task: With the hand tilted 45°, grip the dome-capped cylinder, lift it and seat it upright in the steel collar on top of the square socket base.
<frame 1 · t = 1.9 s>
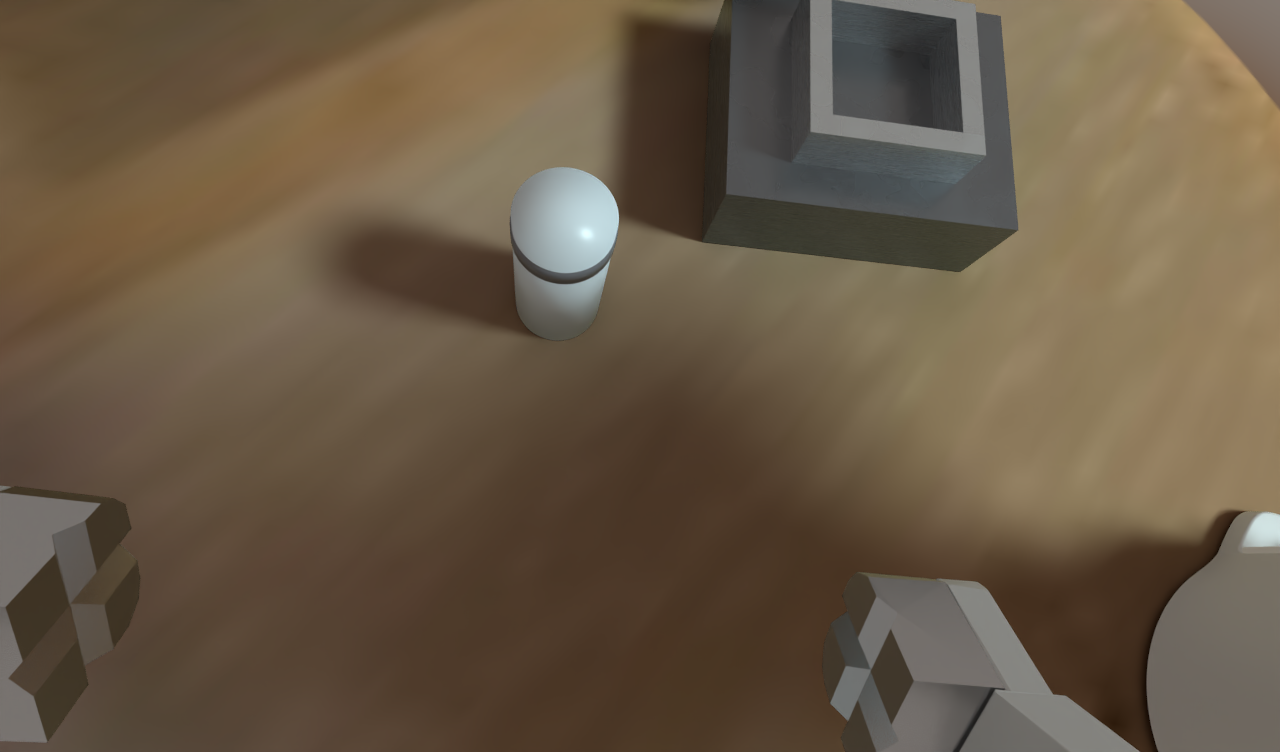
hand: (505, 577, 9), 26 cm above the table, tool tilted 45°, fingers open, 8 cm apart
square socket base: (832, 155, 41), on the table
dome-capped cylinder: (557, 301, 37), on the table
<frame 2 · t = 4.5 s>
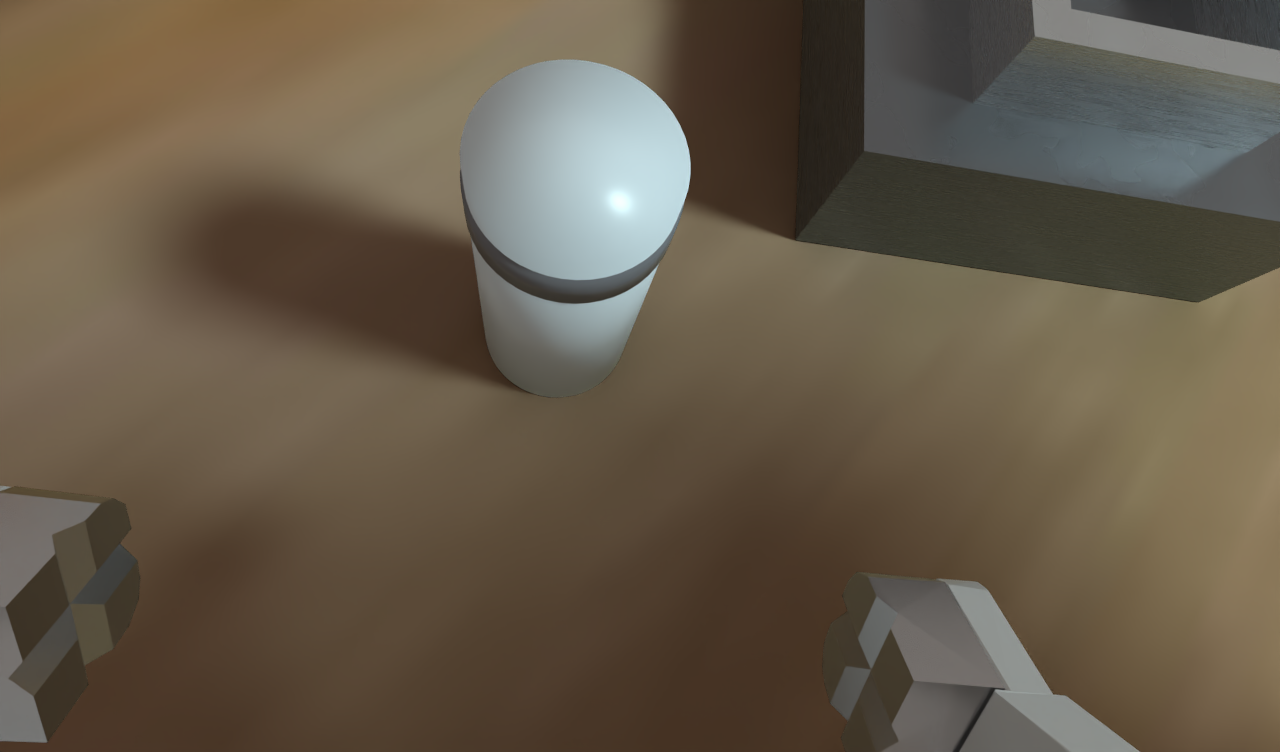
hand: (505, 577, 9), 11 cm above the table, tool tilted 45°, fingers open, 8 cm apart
square socket base: (995, 113, 26), on the table
dome-capped cylinder: (556, 329, 22), on the table
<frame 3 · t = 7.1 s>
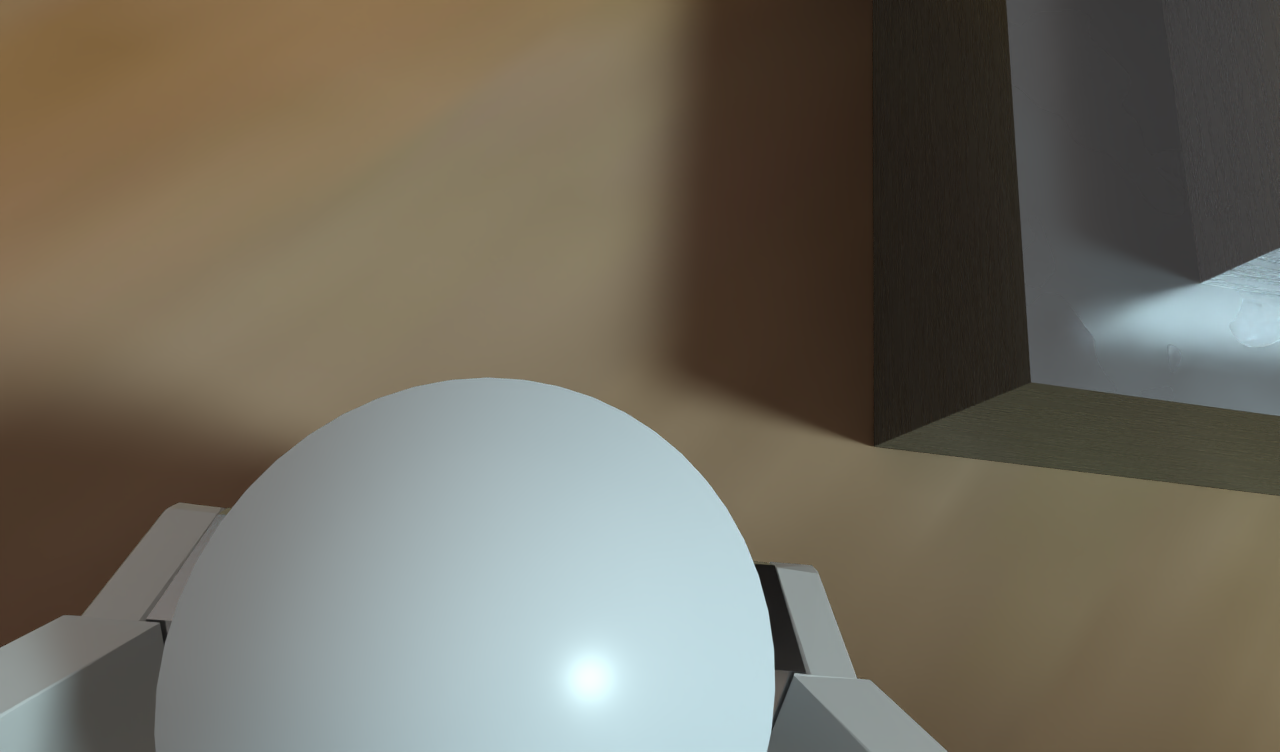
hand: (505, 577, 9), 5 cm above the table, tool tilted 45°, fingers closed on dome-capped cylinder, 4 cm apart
square socket base: (1149, 234, 18), on the table
dome-capped cylinder: (504, 620, 14), on the table, touching gripper
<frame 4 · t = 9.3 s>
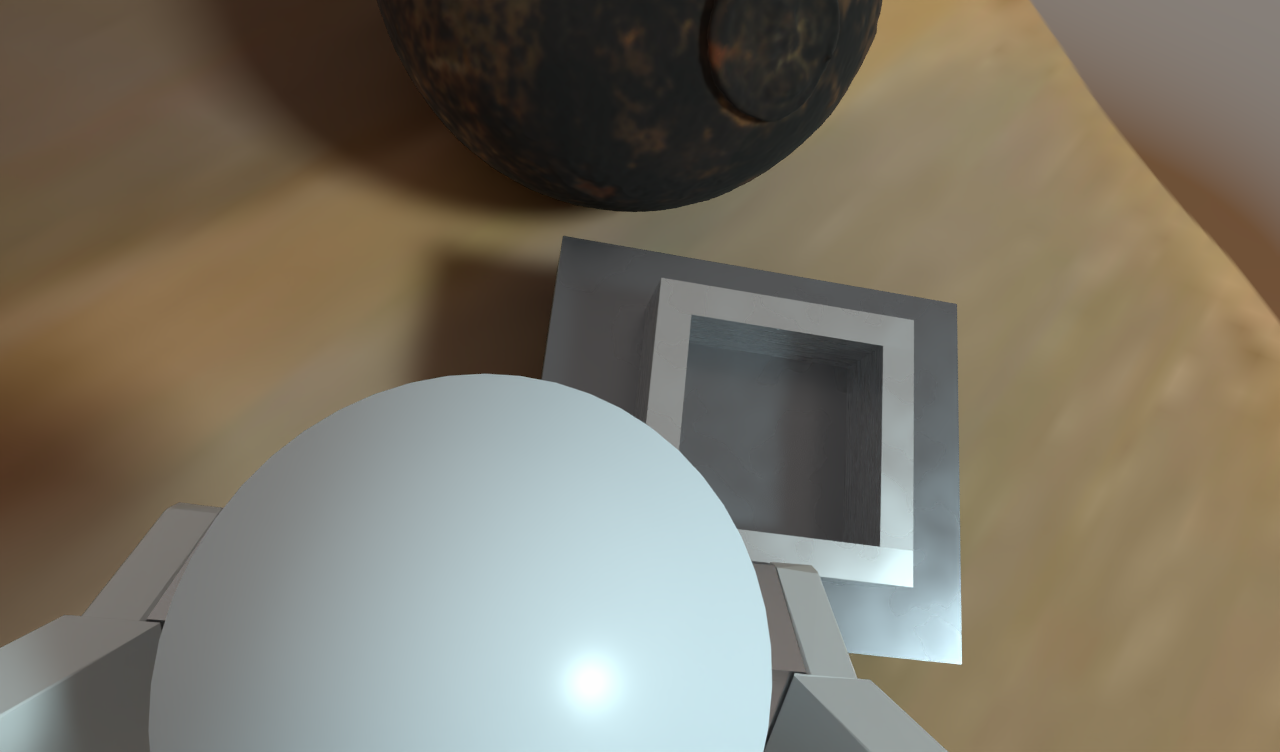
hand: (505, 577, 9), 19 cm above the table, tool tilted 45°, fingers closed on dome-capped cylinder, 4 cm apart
square socket base: (714, 466, 29), on the table
dome-capped cylinder: (503, 618, 14), point 13 cm above the table, touching gripper
glass bottle: (608, 77, 33), on the table
when the fingers open (12 cm above the table, at t = 12.0 s): dome-capped cylinder drops 1 cm, resting on square socket base.
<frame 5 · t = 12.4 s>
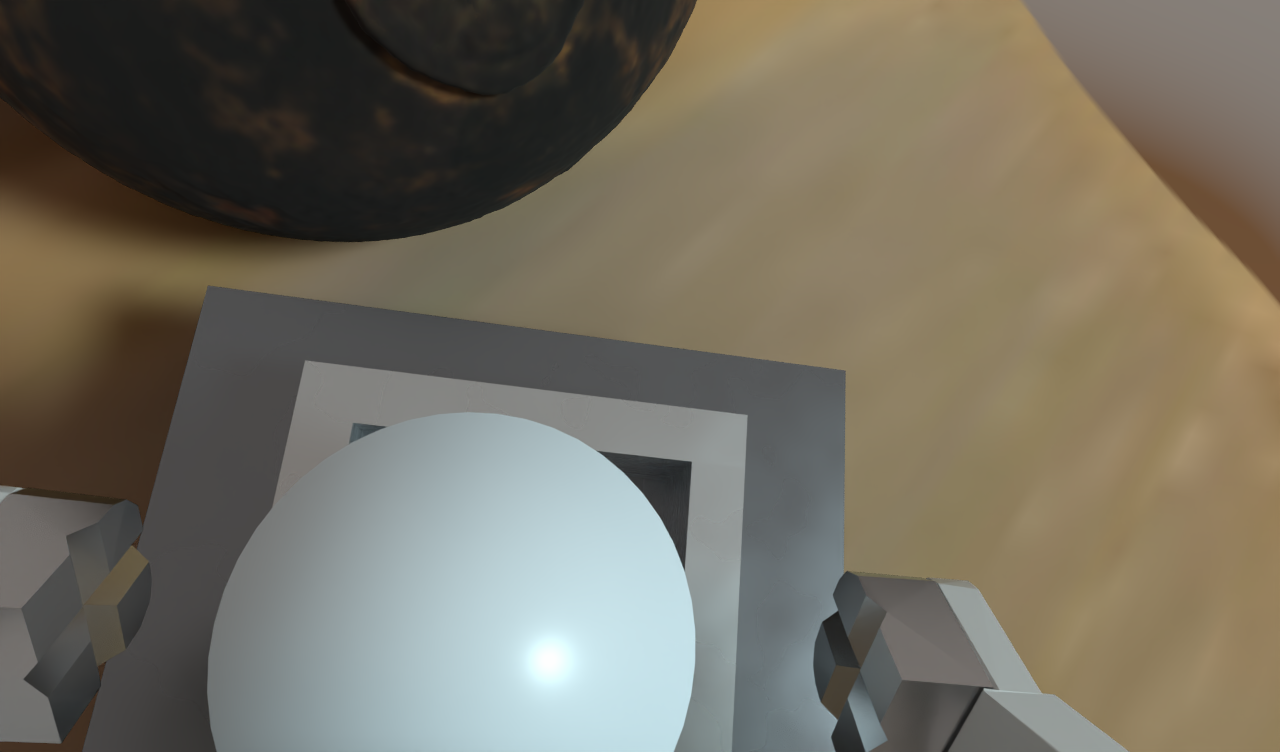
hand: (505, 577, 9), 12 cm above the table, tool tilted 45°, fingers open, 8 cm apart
square socket base: (508, 609, 20), on the table
dome-capped cylinder: (494, 613, 15), point 5 cm above the table, touching square socket base
glass bottle: (386, 51, 24), on the table
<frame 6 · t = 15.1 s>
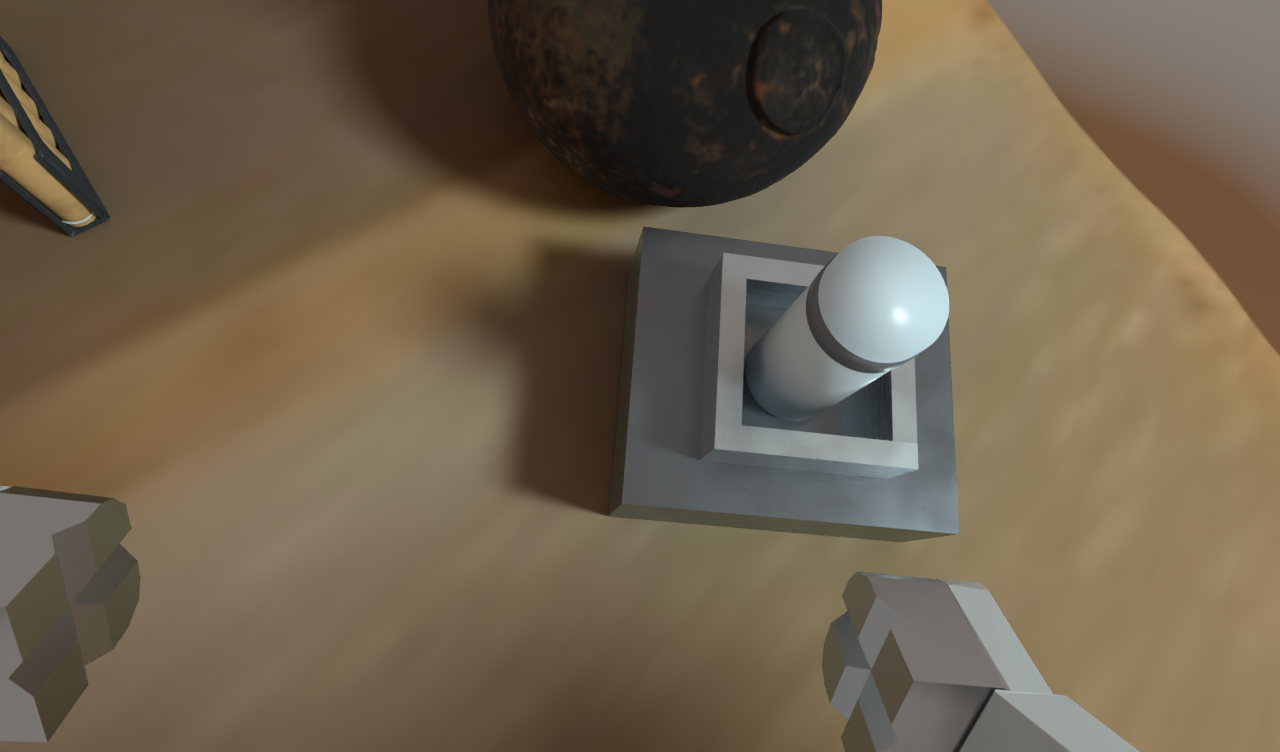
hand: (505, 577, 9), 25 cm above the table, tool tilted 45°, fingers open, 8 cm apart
square socket base: (761, 404, 37), on the table
dome-capped cylinder: (791, 375, 32), point 5 cm above the table, touching square socket base
glass bottle: (660, 102, 41), on the table
ammunition clip: (42, 142, 36), on the table
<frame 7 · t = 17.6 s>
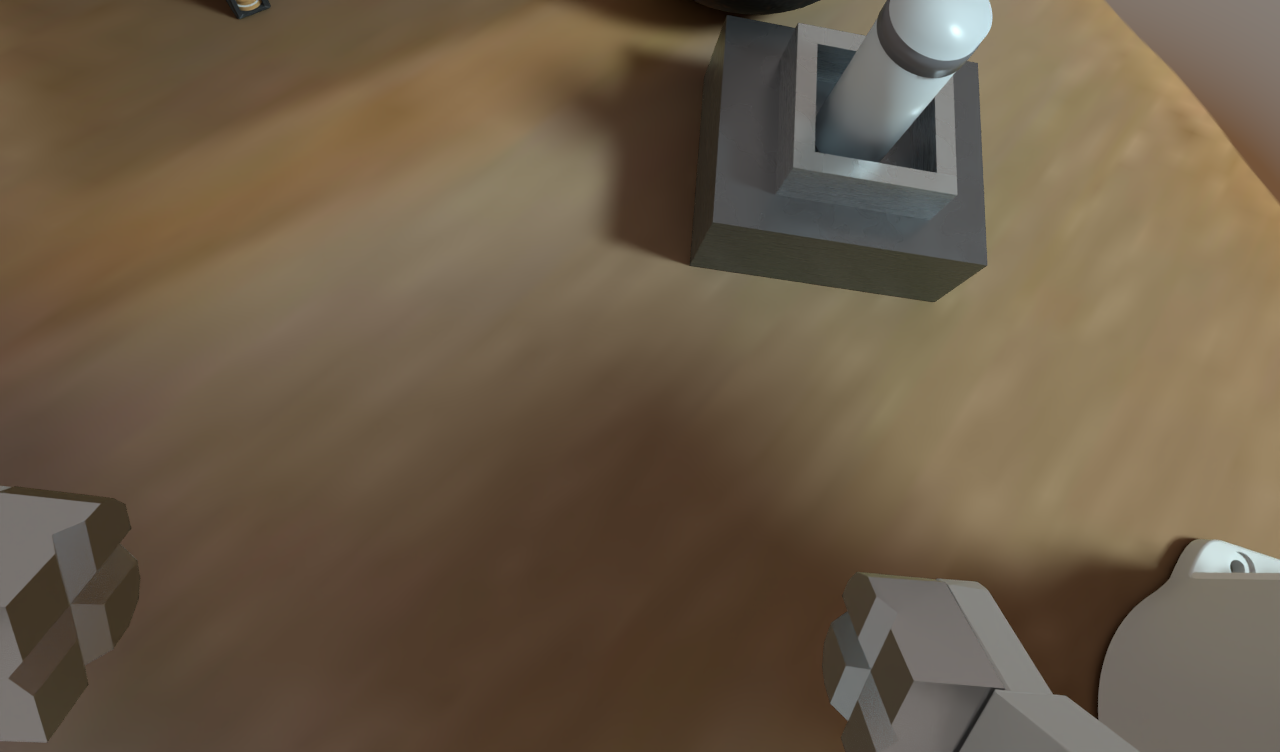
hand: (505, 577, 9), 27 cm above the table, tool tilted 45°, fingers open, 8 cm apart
square socket base: (817, 187, 43), on the table
dome-capped cylinder: (849, 136, 38), point 5 cm above the table, touching square socket base
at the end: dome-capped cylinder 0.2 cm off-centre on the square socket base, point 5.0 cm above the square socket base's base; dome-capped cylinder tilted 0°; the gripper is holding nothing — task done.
